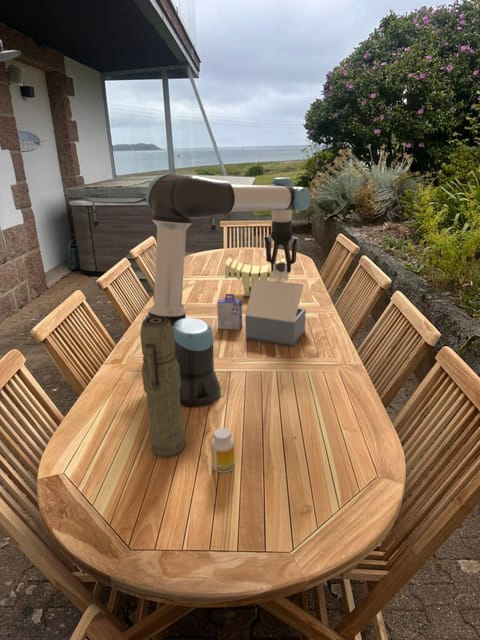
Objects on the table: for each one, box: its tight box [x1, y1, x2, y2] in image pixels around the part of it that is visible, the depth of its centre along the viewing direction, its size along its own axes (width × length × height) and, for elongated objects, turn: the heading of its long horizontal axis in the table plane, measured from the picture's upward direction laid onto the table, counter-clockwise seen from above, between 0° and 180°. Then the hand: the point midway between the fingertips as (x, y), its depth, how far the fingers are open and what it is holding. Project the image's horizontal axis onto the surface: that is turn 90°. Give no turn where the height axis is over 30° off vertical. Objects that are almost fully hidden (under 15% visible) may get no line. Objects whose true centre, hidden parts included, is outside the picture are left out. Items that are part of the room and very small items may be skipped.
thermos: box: [139, 316, 186, 459], centre depth 101 cm, size 9×12×35 cm
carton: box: [244, 307, 307, 348], centre depth 170 cm, size 16×20×10 cm
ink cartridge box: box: [216, 293, 243, 331], centre depth 178 cm, size 10×6×14 cm, turn 78°
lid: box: [244, 261, 304, 323], centre depth 164 cm, size 24×20×4 cm
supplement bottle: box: [210, 427, 235, 474], centre depth 99 cm, size 5×5×10 cm
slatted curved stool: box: [224, 256, 286, 297], centre depth 220 cm, size 30×16×18 cm, turn 84°
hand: (280, 279), depth 168 cm, fingers closed on lid, 4 cm apart
